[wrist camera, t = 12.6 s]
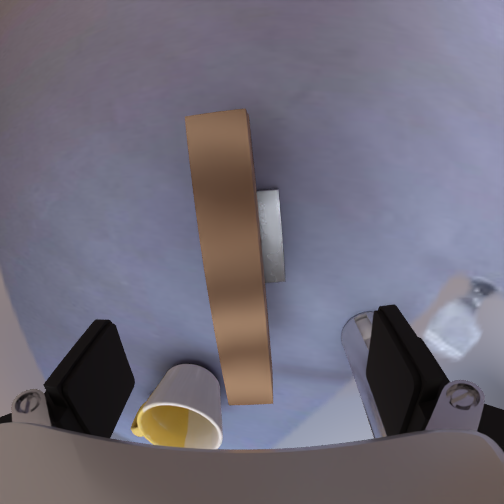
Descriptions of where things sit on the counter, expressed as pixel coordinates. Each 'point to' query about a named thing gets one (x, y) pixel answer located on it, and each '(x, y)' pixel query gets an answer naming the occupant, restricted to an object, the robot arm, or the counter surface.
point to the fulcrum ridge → (271, 235)
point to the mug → (182, 410)
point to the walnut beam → (232, 250)
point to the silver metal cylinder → (362, 365)
